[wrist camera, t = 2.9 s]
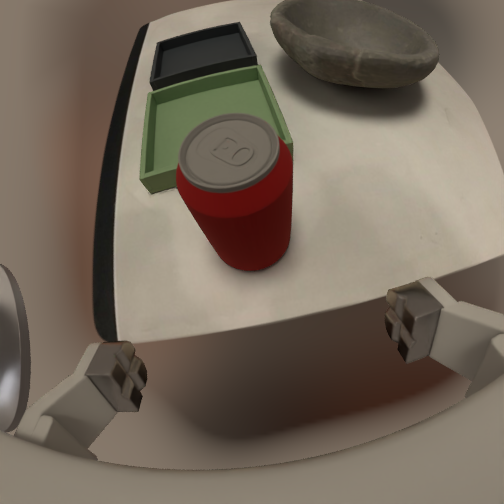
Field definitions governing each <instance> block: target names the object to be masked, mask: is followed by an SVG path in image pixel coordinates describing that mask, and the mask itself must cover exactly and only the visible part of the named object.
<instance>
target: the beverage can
mask: <svg viewBox="0 0 504 504" xmlns="http://www.w3.org/2000/svg"><path fill="white" fill-rule="evenodd" d="M176 184H177V188H178V191H179V193H180V195H181V197H182V199H183V200H184V202H185V204H186V205H187V207H188V209H189V210H190V212H191V214H192V215H193V217H194V219H195V220H196V222H197V223H198V225H199V226H200V228H201V230H202V231H203V233H204V234H205V236H206V237H207V239H208V240H209V242H210V243H211V245H212V246H213V248H214V249H215V251H216V252H217V254H218V255H219V256H220V258H221V259H222V260H223V261H224V262H225V263H227V264H228V265H230V266H232V267H234V268H236V269H240V270H245V271H255V270H260V269H264V268H266V267H268V266H270V265H272V264H274V263H275V262H276V261H278V260H279V259H280V258H281V257H282V255H283V254H284V253H285V251H286V249H287V247H288V245H289V241H290V234H291V219H292V193H293V161H292V156H291V153H290V151H289V149H288V147H287V145H286V144H285V143H284V141H283V140H282V139H281V138H280V137H279V136H278V135H277V133H276V131H275V129H274V128H273V127H272V126H271V125H270V124H269V123H268V122H267V121H265V120H263V119H262V118H260V117H257V116H255V115H251V114H246V113H227V114H222V115H218V116H215V117H212V118H209V119H207V120H205V121H203V122H202V123H200V124H199V125H197V126H196V127H195V128H193V129H192V130H191V131H190V132H189V133H188V134H187V136H186V137H185V138H184V140H183V142H182V144H181V146H180V149H179V153H178V165H177V170H176Z"/></svg>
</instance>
